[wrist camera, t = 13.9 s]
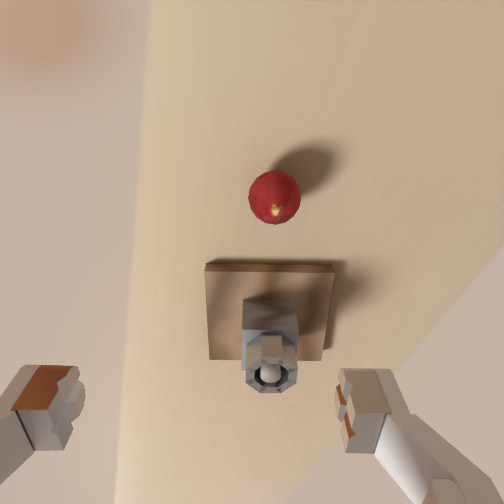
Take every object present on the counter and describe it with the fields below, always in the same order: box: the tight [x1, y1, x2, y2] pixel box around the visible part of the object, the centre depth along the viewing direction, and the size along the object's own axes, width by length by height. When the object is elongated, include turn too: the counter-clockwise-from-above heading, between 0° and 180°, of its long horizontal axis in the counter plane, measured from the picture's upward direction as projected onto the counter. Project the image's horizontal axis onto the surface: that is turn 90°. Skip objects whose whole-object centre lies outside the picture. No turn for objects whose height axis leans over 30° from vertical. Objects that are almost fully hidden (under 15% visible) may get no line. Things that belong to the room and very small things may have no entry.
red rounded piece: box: [248, 170, 301, 225], centre depth 41 cm, size 6×6×8 cm
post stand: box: [205, 263, 335, 383], centre depth 48 cm, size 17×16×12 cm
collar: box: [246, 333, 298, 393], centre depth 45 cm, size 6×6×4 cm
